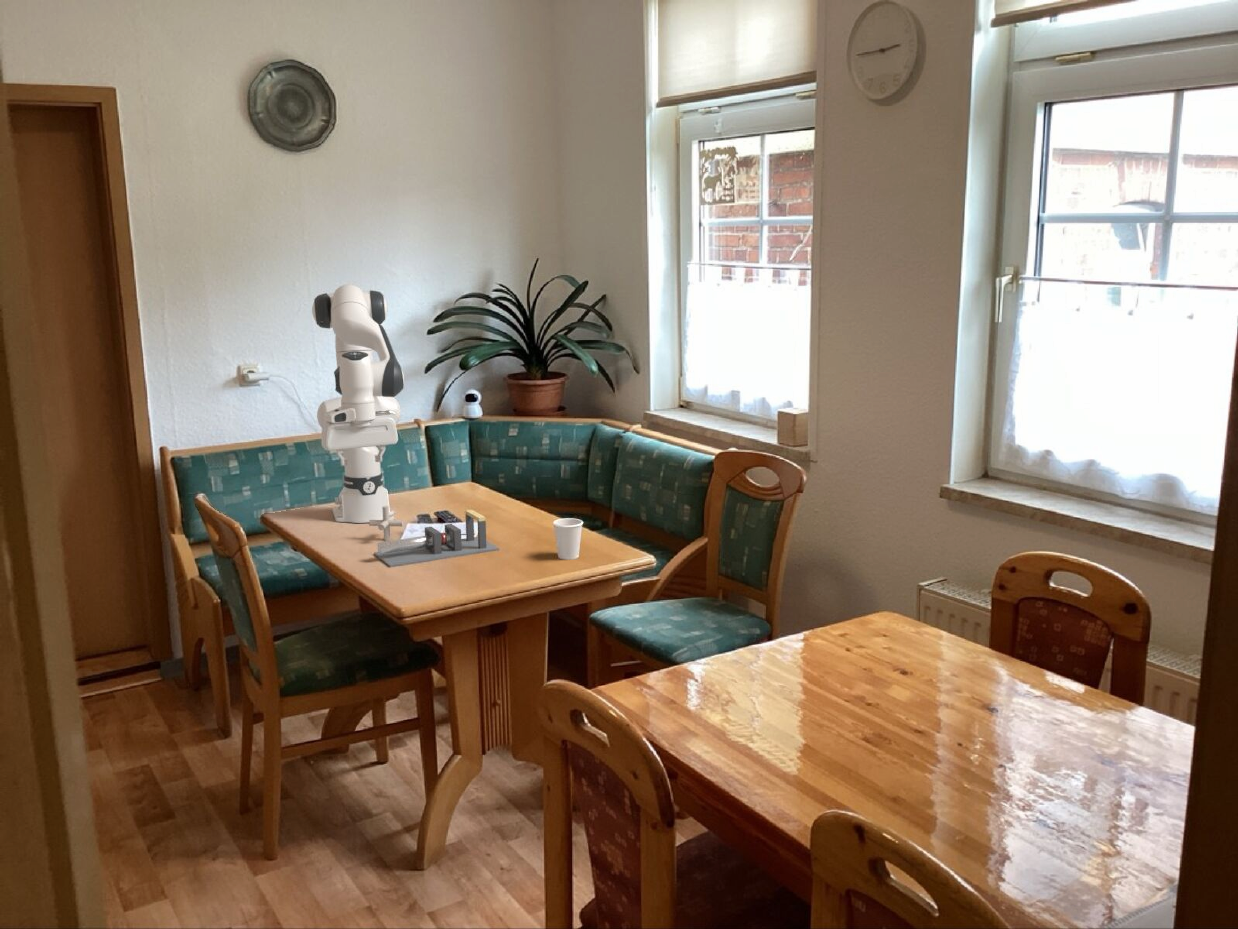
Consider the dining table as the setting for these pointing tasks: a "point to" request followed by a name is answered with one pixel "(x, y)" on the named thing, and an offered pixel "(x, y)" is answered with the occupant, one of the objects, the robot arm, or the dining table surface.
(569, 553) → the dixie cup
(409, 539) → the tube
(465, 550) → the collar board
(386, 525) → the pipe connector
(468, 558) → the dining table surface
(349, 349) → the robot arm
